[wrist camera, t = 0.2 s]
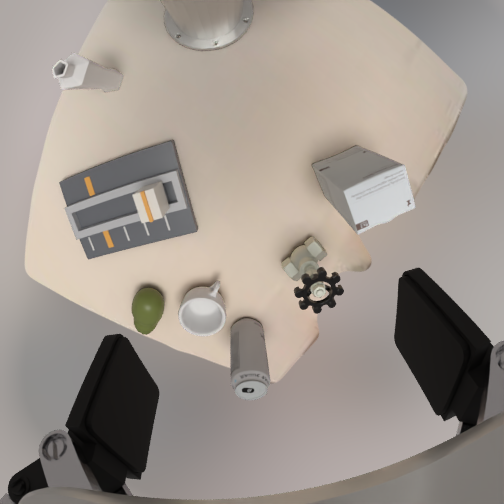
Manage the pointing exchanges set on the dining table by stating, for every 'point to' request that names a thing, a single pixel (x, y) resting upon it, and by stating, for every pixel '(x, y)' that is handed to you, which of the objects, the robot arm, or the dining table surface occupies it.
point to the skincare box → (365, 187)
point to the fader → (151, 202)
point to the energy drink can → (249, 360)
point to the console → (127, 201)
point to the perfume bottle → (85, 74)
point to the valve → (312, 275)
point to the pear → (147, 309)
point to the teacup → (203, 311)
